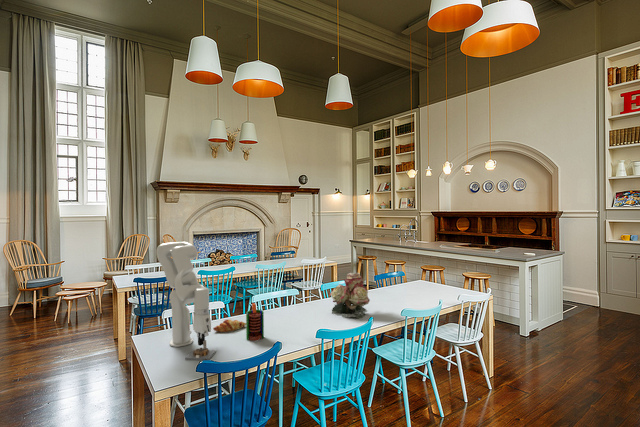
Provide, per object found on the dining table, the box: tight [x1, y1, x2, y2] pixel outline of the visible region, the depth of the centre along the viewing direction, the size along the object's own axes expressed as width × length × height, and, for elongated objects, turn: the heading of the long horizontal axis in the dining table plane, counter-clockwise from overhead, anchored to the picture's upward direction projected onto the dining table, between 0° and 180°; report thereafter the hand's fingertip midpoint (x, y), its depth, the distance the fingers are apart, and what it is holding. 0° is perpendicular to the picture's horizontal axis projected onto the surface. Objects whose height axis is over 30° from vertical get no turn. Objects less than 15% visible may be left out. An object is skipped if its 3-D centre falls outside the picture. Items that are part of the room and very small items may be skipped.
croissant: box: [213, 319, 246, 333], centre depth 225 cm, size 21×10×8 cm, turn 122°
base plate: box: [185, 349, 217, 361], centre depth 184 cm, size 10×12×2 cm
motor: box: [245, 303, 265, 342], centre depth 209 cm, size 10×9×20 cm
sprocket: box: [192, 339, 210, 357], centre depth 184 cm, size 8×8×6 cm
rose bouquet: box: [329, 271, 371, 320], centre depth 255 cm, size 26×29×30 cm
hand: (201, 344), depth 188 cm, fingers closed
